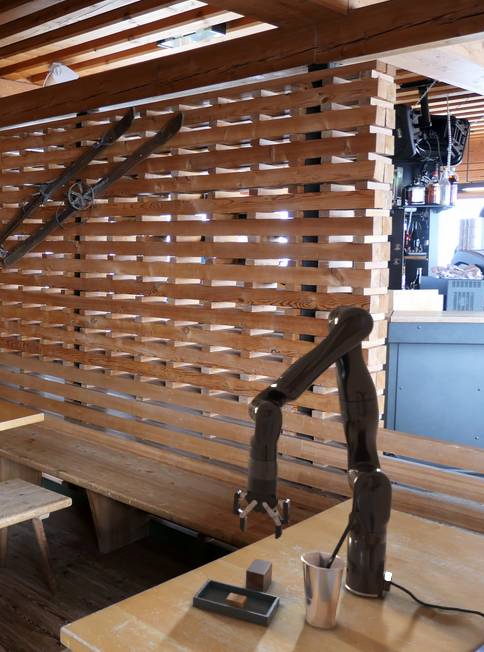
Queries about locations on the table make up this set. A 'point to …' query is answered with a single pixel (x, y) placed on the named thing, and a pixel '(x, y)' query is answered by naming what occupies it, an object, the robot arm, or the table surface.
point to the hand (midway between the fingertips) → (260, 534)
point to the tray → (255, 609)
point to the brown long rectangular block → (259, 575)
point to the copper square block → (236, 600)
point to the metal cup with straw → (323, 583)
